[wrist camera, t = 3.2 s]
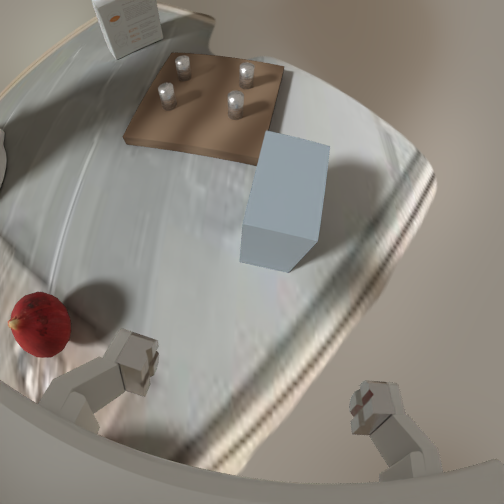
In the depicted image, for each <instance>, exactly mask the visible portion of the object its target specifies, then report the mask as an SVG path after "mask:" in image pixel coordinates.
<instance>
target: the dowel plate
mask: <svg viewBox="0 0 504 504" xmlns="http://www.w3.org/2000/svg"><path fill="white" fill-rule="evenodd" d="M283 71H284V66H279V65H274V64H269V63H263V62H258V61H252V60H245V59H238V58H231V57H223V56H214V55H204V54H191V53H173V52H172V53H171V55H170V56H169V57H168V59H167V61H166V62H165V64H164V65H163V67H162V68H161V70H160V71H159V73H158V75H157V76H156V78H155V79H154V81H153V83H152V84H151V86H150V88H149V89H148V91H147V93H146V94H145V96H144V98H143V100H142V101H141V103H140V105H139V107H138V109H137V110H136V112H135V114H134V116H133V118H132V120H131V122H130V123H129V125H128V127H127V129H126V131H125V133H124V135H123V138H124V140H125V142H126V144H127V145H136V146H144V147H151V148H158V149H165V150H172V151H179V152H185V153H191V154H197V155H203V156H208V157H214V158H219V159H225V160H230V161H235V162H240V163H245V164H250V165H254V166H257V164H258V160H259V156H260V152H261V148H262V144H263V140H264V136H265V132H266V131H269V127H270V123H271V119H272V115H273V111H274V107H275V103H276V99H277V95H278V91H279V87H280V83H281V79H282V75H283Z"/></svg>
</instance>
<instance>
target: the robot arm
mask: <svg viewBox="0 0 504 504" xmlns="http://www.w3.org/2000/svg"><path fill="white" fill-rule="evenodd" d="M4 135H5V133H4V131H3V130H2V129H0V187H1V184H2V181H3V178H4V174H5V170H6V161H7V160H6V152H5V149H4V146H3V142H4ZM157 348H158V340H155V339H152V338H149V337H146V336H143V335H140V334H137V333H134V332H131V331H128V330H126V329H123V328H121V329H120V330H119V331H118V333H117V334H116V336H115V337H114V339H113V341H112V342H111V344H110V346H109V347H108V349H107V351H106V353H105V354H104V356H103V358H102V357H98V358H96V359H94V360H92V361H90V362H88V363H86V364H84V365H82V366H80V367H78V368H76V369H73V370H71V371H69V372H67V373H65V374H63V375H61V376H59V377H57V378H55V379H53V380H52V382H51V384H50V385H49V387H48V388H47V390H46V392H45V393H44V395H43V397H42V398H41V400H40V402H39V403H38V404H37V403H35V402H34V401H32V400H30V399H29V398H27V397H25V396H24V395H22V394H21V393H19V392H18V391H16V390H14V389H13V388H11V387H10V386H8V385H7V384H6V383H4V382H3V381H1V380H0V504H504V464H503V463H502V462H501V461H500V460H498V459H493V460H489V461H486V462H483V463H479V464H476V465H472V466H468V467H465V468H461V469H456V470H453V471H448V472H443V471H442V465H441V460H440V455H439V450H438V448H437V446H436V445H435V444H434V443H433V442H432V441H431V440H430V438H428V436H427V435H426V434H425V433H424V432H423V431H422V429H421V428H420V427H419V426H418V425H417V424H416V423H415V421H413V419H412V418H411V417H410V416H409V415H406V414H405V409H404V405H403V401H402V397H401V393H400V389H399V385H398V384H397V383H390V382H378V381H363V382H362V383H361V385H360V389H359V390H357V391H356V392H354V394H353V395H352V397H351V400H350V406H349V408H350V412H351V414H352V415H353V419H352V420H351V429H352V434H355V435H370V438H371V440H372V441H373V443H374V444H375V446H376V448H377V449H378V451H379V452H380V454H381V455H382V457H383V459H384V460H385V462H386V463H387V465H388V466H389V468H388V469H386V470H385V471H383V472H381V473H380V474H379V482H370V483H347V484H319V483H318V484H317V483H296V482H283V481H273V480H264V479H256V478H249V477H242V476H236V475H230V474H225V473H220V472H215V471H210V470H206V469H201V468H197V467H193V466H189V465H185V464H181V463H177V462H174V461H170V460H167V459H163V458H160V457H157V456H154V455H151V454H148V453H145V452H142V451H139V450H136V449H133V448H130V447H128V446H125V445H122V444H120V443H117V442H115V441H112V440H110V439H107V438H105V437H102V436H100V435H98V434H97V433H98V431H99V428H100V427H99V424H98V422H97V420H96V418H95V417H94V415H93V414H94V413H95V412H97V411H98V410H100V409H101V408H103V407H104V406H105V405H107V404H108V403H110V402H111V401H113V400H114V399H116V398H117V397H118V396H120V395H121V394H123V393H124V392H125V391H128V392H131V393H134V394H137V395H140V396H144V397H145V396H146V393H147V391H148V389H149V386H150V377H152V376H154V374H155V372H156V369H157V366H158V361H159V353H158V352H157V351H156V350H157Z"/></svg>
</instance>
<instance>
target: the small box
mask: <svg viewBox="0 0 504 504" xmlns="http://www.w3.org/2000/svg"><path fill="white" fill-rule="evenodd" d="M92 4H93V7H94V9H95V12H96V15H97V18H98V22H99V24H100V27H101V30H102V32H103V35H104V38H105V41H106V43H107V46H108V48H109V49H110V51H111V53H112V54H113V56H114V57H115V59H116V60H118V59H120V58H122V57H124V56H126V55H128V54H130V53H132V52H134V51H136V50H138V49H140V48H143V47H145V46H147V45H149V44H152V43H154V42H156V41H159V40H161V39H163V33H162V28H161V24H160V19H159V13H158V8H157V2H156V0H92Z"/></svg>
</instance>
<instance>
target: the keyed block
mask: <svg viewBox="0 0 504 504" xmlns="http://www.w3.org/2000/svg"><path fill="white" fill-rule="evenodd" d="M329 151H330V146H327V145H324V144H320V143H316V142H313V141H309V140H305V139H301V138H297V137H293V136H288V135H284V134H280V133H275V132H271V131H266V132H265V136H264V140H263V144H262V148H261V152H260V156H259V160H258V164H257V168H256V172H255V176H254V180H253V184H252V188H251V192H250V196H249V200H248V204H247V208H246V212H245V216H244V220H243V225H242V237H241V250H240V262H242V263H247V264H251V265H255V266H260V267H264V268H269V269H273V270H278V271H282V272H287V273H289V272H290V271H291V269H292V268H293V267H294V266H295V265H296V264H297V263H298V262H299V261H300V260H301V259H302V258H303V257H304V256H305V255H306V254H307V252H308V251H309V250H310V249H311V248H312V247H313V246H314V245H315V244H316V243H317V242H318V237H319V230H320V223H321V216H322V209H323V202H324V194H325V186H326V178H327V169H328V161H329Z"/></svg>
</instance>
